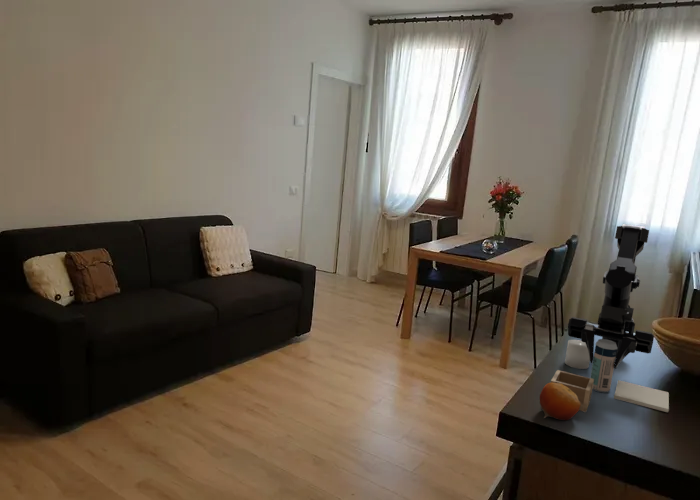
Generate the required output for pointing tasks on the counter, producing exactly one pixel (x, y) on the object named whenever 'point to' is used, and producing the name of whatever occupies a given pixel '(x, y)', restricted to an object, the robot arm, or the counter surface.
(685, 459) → the counter surface
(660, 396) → the plate
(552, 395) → the fruit
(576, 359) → the white rounded cylinder
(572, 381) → the oak box
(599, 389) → the beer can
